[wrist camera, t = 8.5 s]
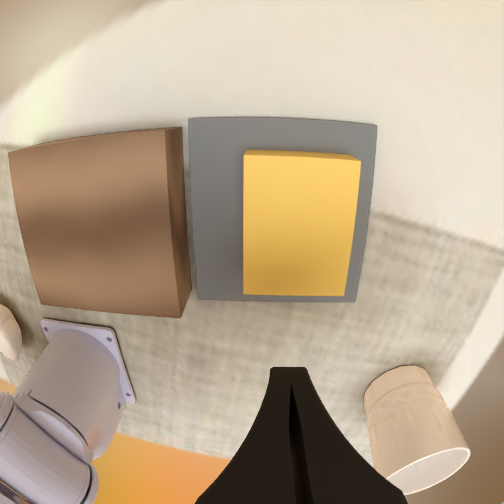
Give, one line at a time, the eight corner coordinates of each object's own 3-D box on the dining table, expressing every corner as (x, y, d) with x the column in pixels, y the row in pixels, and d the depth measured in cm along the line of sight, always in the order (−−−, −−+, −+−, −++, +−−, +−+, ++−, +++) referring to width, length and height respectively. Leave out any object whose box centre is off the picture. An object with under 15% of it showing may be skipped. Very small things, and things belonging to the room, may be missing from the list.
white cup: (440, 388, 27) (473, 464, 18) (374, 423, 29) (393, 502, 20) (421, 345, 24) (465, 435, 15) (343, 387, 26) (362, 483, 17)
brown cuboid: (191, 289, 23) (180, 318, 19) (63, 281, 23) (41, 304, 20) (182, 127, 18) (164, 130, 15) (38, 144, 18) (8, 152, 15)
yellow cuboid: (243, 294, 19) (245, 274, 21) (343, 296, 19) (336, 276, 21) (243, 155, 16) (246, 149, 18) (361, 161, 16) (349, 154, 18)
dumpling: (43, 342, 26) (24, 368, 23) (17, 347, 27) (-1, 370, 24) (6, 283, 24) (-18, 305, 20) (-17, 294, 25) (-39, 314, 21)
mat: (353, 298, 22) (355, 302, 22) (199, 295, 23) (197, 299, 22) (374, 125, 17) (377, 125, 17) (189, 118, 18) (188, 118, 17)
